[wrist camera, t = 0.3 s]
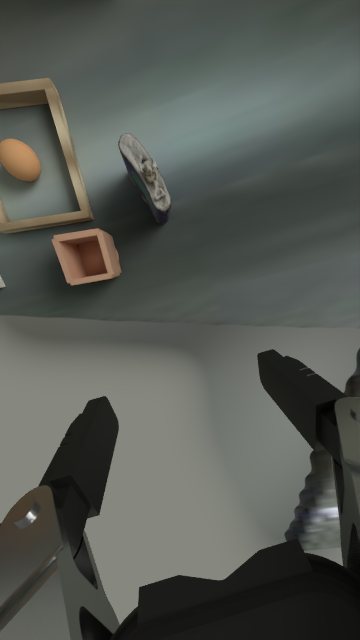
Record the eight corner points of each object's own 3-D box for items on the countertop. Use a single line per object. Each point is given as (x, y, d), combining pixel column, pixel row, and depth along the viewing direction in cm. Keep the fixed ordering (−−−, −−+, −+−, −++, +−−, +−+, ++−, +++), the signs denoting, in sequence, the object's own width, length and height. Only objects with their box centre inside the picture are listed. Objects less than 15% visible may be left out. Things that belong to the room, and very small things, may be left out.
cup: (72, 240, 31) (49, 235, 25) (113, 233, 32) (101, 226, 25) (85, 281, 34) (68, 286, 27) (123, 274, 34) (115, 278, 27)
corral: (-48, 105, 25) (-66, 91, 23) (58, 92, 26) (49, 77, 24) (7, 233, 30) (-4, 231, 28) (94, 219, 31) (89, 217, 29)
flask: (125, 173, 29) (109, 129, 19) (140, 162, 29) (131, 111, 19) (160, 227, 32) (161, 213, 22) (173, 217, 32) (181, 198, 22)
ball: (8, 152, 27) (-19, 132, 23) (40, 148, 27) (18, 127, 23) (22, 188, 29) (-2, 175, 24) (52, 183, 29) (33, 170, 25)
